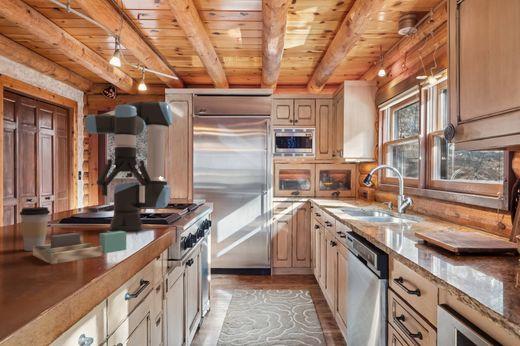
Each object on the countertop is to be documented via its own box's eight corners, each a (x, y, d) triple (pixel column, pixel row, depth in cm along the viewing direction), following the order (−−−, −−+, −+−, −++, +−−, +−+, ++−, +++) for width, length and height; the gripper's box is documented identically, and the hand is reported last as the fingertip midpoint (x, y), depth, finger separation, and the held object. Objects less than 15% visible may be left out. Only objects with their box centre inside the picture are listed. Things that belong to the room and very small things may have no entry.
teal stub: (120, 248, 129) (121, 230, 129) (126, 249, 127) (126, 232, 127) (99, 251, 123) (99, 233, 123) (104, 253, 121) (104, 234, 121)
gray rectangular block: (75, 250, 125) (75, 232, 125) (79, 252, 122) (80, 234, 122) (50, 254, 119) (50, 235, 119) (54, 256, 116) (55, 237, 116)
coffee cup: (24, 247, 129) (24, 207, 129) (52, 245, 132) (53, 206, 132) (14, 252, 120) (15, 209, 120) (45, 251, 123) (46, 209, 123)
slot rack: (80, 248, 129) (80, 239, 129) (102, 255, 117) (102, 245, 117) (32, 255, 117) (33, 245, 117) (51, 264, 105) (51, 253, 106)
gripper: (150, 149, 142) (150, 201, 142) (86, 145, 123) (86, 205, 123) (160, 148, 136) (160, 202, 137) (95, 144, 118) (95, 206, 118)
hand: (125, 203), depth 130 cm, fingers open, 13 cm apart
